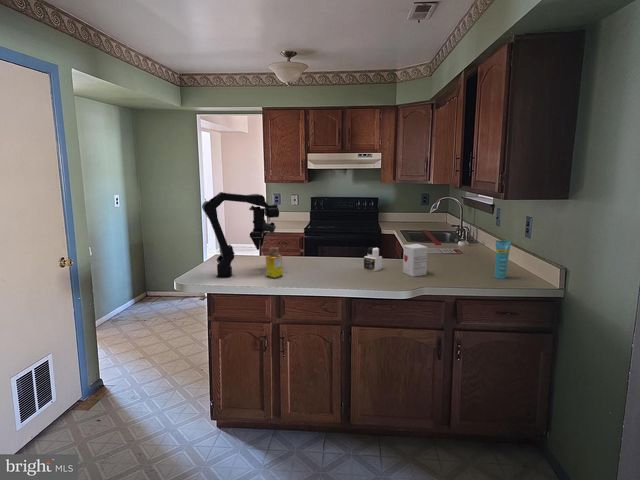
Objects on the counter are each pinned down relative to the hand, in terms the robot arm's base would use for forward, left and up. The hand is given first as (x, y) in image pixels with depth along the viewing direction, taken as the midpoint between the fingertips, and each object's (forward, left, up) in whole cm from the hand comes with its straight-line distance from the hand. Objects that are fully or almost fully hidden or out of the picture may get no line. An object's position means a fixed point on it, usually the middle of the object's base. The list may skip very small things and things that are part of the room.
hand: (259, 247), depth 217 cm
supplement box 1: (+9, -9, -13) cm, 18 cm away
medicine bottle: (+60, +8, -13) cm, 62 cm away
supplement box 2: (+81, 0, -13) cm, 82 cm away
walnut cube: (+9, -9, -2) cm, 13 cm away
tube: (+123, -5, -13) cm, 124 cm away
